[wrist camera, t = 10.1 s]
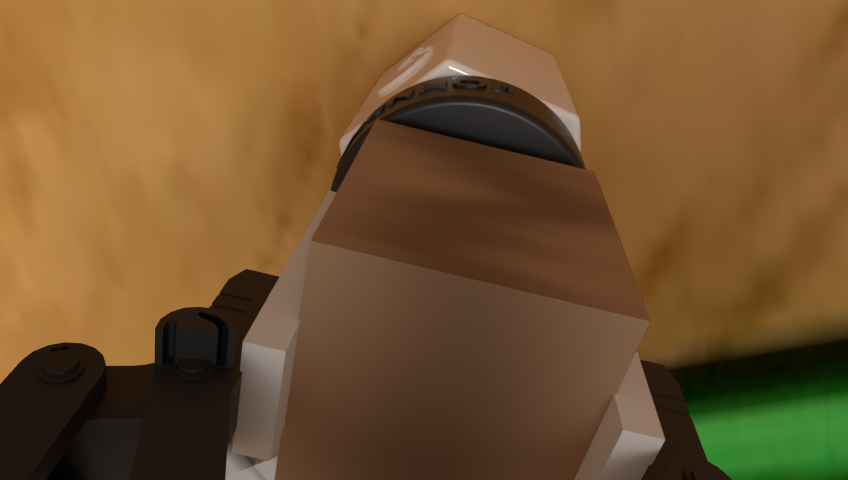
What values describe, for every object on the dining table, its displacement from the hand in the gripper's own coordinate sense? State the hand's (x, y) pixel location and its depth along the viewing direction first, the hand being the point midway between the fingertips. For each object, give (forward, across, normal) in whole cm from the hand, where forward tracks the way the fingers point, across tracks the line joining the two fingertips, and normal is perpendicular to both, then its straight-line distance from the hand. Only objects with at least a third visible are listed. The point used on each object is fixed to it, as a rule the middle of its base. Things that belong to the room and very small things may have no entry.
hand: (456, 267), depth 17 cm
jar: (+14, 0, 0) cm, 14 cm away
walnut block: (+1, 0, 0) cm, 1 cm away
